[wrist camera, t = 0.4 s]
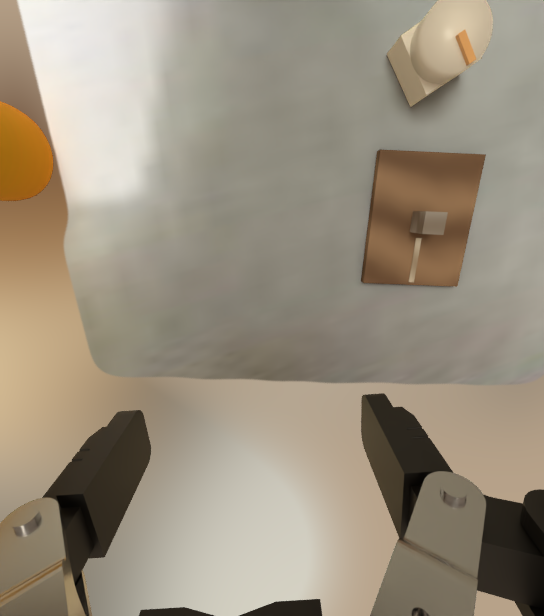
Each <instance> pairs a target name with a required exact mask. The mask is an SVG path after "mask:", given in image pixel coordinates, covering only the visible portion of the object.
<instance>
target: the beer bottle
mask: <svg viewBox="0 0 544 616" xmlns="http://www.w3.org/2000/svg"><path fill="white" fill-rule="evenodd" d="M52 171H53V155H52V151H51V147H50V145H49V143H48V140H47V138H46V137H45V135H44V134H43V132H42V130H41V129H40V128H39V127H38V125H37V124H36V123H35V122H34V121H33V120H32V119H30V118H29V117H28V116H27V115H25V114H24V113H22V112H21V111H19V110H18V109H16V108H14V107H13V106H10V105H8V104H6V103H3V102H1V101H0V200H1V201H18V200H24V199H28V198H31V197H33V196H36V195H37V194H38V193H40V192H41V191H42V190H43V189H44V188H45V187H46V186H47V184H48V182H49V181H50V179H51V175H52Z"/></svg>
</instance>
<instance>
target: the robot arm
mask: <svg viewBox="0 0 544 616" xmlns="http://www.w3.org/2000/svg"><path fill="white" fill-rule="evenodd" d="M361 432H362V441H363V445H364V449H365V452H366V454H367V457H368V459H369V462H370V464H371V467H372V469H373V472H374V475H375V477H376V480H377V482H378V485H379V487H380V490H381V492H382V495H383V498H384V500H385V503H386V505H387V508H388V510H389V513H390V515H391V518H392V520H393V523H394V525H395V528H396V531H397V533H398V536H399V540H398V541H397V543H396V546H395V548H394V551H393V554H392V557H391V560H390V562H389V565H388V568H387V571H386V573H385V576H384V579H383V582H382V584H381V587H380V590H379V593H378V595H377V598H376V601H375V604H374V606H373V609H372V612H371V615H370V616H474V609H475V601H476V593H477V590H478V591H481V592H485V593H488V594H492V595H495V596H499V597H502V598H505V599H509V600H512V601H515V603H516V605H517V607H518V608H519V610H520V612H521V614H522V615H523V616H544V490H533V491H530V492H528V493H527V494H526V495H525V498H524V502H523V504H522V503H517V502H512V501H507V500H502V499H497V498H493V497H488V496H486V495H483V494H482V492H481V491H480V490H479V489H478V487H477V486H476V485H474V484H473V483H472V482H470V481H469V480H468V479H466V478H464V477H462V476H460V475H458V474H455V473H453V471H452V470H451V469H450V467H449V466H448V464H447V463H446V461H445V460H444V458H443V457H442V455H441V454H440V453H439V451H438V450H437V448H436V447H435V445H434V444H433V443H432V441H431V440H430V438H428V435H427V434H426V432H425V431H424V429H422V426H421V425H420V424H419V422H418V421H417V419H416V418H415V416H414V415H412V414H411V413H410V412H408V411H407V410H405V409H404V408H403V407H393V406H392V405H391V403H390V401H389V400H388V398H387V396H386V395H385V394H371V395H370V394H369V395H363V396H362V418H361ZM150 455H151V445H150V441H149V437H148V432H147V428H146V424H145V419H144V415H143V413H142V412H141V411H140V410H136V411H121V412H118V413H117V414H116V415H115V416H114V417H113V419H112V420H111V421H110V423H109V424H108V426H107V427H102V428H101V429H100V430H98V431H97V432H96V433H94V434H93V435H92V436H90V437H89V438H88V439H87V441H86V442H85V443H84V445H83V446H82V447H81V449H80V451H79V452H77V454H76V455H75V456H74V457H73V459H72V462H70V463H69V464H68V465H67V466H66V468H65V469H64V470H63V472H62V473H61V474H60V476H59V477H58V478H57V479H56V481H55V482H54V483H53V484H52V486H51V487H50V488H49V490H48V491H47V492H46V493H45V495H44V496H43V497H42V498H40V499H36V500H33V501H31V502H28V503H26V504H24V505H22V506H20V507H19V508H17V509H16V510H14V511H13V512H12V513H10V514H9V515H8V516H7V517H6V518H5V519H4V520H3V521H2V522H1V523H0V616H92V612H91V607H90V602H89V596H88V591H87V586H86V581H85V575H84V573H83V570H82V569H83V568H84V566H85V563H86V562H87V560H88V558H101V557H105V555H106V553H107V551H108V549H109V546H110V544H111V542H112V540H113V538H114V536H115V534H116V532H117V529H118V527H119V525H120V523H121V521H122V519H123V517H124V514H125V512H126V510H127V508H128V506H129V504H130V502H131V500H132V497H133V495H134V493H135V491H136V489H137V487H138V485H139V482H140V480H141V478H142V476H143V474H144V472H145V469H146V468H147V465H148V463H149V460H150ZM139 616H214V615H210V614H206V613H203V612H199V611H196V610H192V609H189V608H185V607H183V608H167V609H150V610H141V612H140V615H139ZM240 616H322V611H321V603H320V599H313V600H297V601H281V602H274V603H272V604H269V605H266V606H263V607H261V608H258V609H255V610H253V611H250V612H248V613H245V614H242V615H240Z"/></svg>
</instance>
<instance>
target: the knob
mask: <svg viewBox="0 0 544 616" xmlns="http://www.w3.org/2000/svg"><path fill="white" fill-rule="evenodd" d="M492 30H493V18H492V12H491V9H490V7H489V4H488V3H487V1H486V0H438V1H437V2H436V3H435V4H434V6H433V7H432V8H431V9H430V11H429V12H428V13H427V14H426V16H425V17H424V18H423V19H422V21H420V22H419V23H418V24H416V25H415V26H413V27H412V28H411V29H409V30H408V31H407V32H405V33H404V34H402V35H401V36H400V37H399V39H398V40H397V41H396V43H395V44H394V45H393V47H392V48H391V49H390V51H389V52H388V53H387V56H388V58H389V60H390V63H391V65H392V67H393V69H394V72H395V74H396V76H397V78H398V81H399V83H400V85H401V87H402V90H403V92H404V94H405V96H406V98H407V101H408V103H409V105H410V107H412V106H413V105H415V104H416V103H418V102H419V101H420V100H422V99H423V98H425V97H426V96H428V95H429V94H431V93H432V92H434V91H435V90H437V89H438V88H440V87H441V86H443V85H444V84H446V83H447V82H449V81H450V80H452V79H454V78H455V77H456V76H458V75H459V74H461V73H462V72H463V71H465V70H466V69H468V68H469V67H470V66H472V65H473V64H474V63H476V62H477V61H478V60H480V59H481V58H482V57H481V56H482V55H483V53H484V52H485V50H486V48H487V46H488V44H489V42H490V39H491V35H492Z"/></svg>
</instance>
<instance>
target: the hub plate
mask: <svg viewBox="0 0 544 616" xmlns="http://www.w3.org/2000/svg"><path fill="white" fill-rule="evenodd" d="M484 160H485V155H481V154H460V153H439V152H418V151H397V150H379V151H377V158H376V166H375V174H374V182H373V190H372V198H371V206H370V214H369V222H368V230H367V238H366V246H365V254H364V262H363V270H362V278H361V281H362V282H363V283H382V284H408V285H434V286H457V285H458V281H459V276H460V271H461V267H462V262H463V258H464V253H465V248H466V244H467V239H468V234H469V230H470V225H471V220H472V216H473V211H474V207H475V202H476V197H477V193H478V188H479V183H480V179H481V174H482V169H483V165H484Z"/></svg>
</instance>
